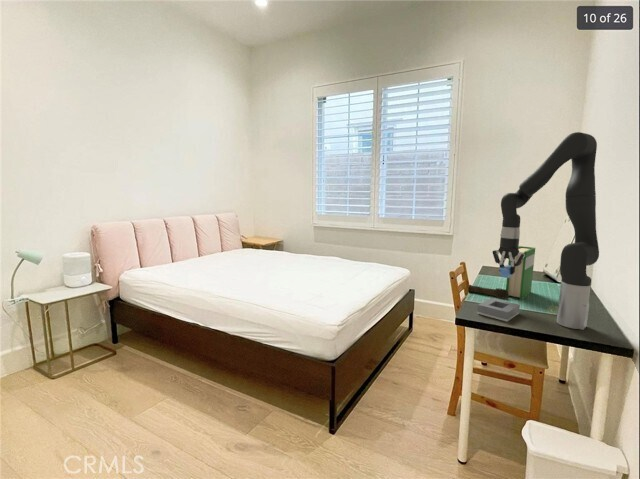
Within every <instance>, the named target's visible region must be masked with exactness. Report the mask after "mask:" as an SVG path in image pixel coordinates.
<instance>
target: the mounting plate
mask: <svg viewBox="0 0 640 479" xmlns="http://www.w3.org/2000/svg"><path fill="white" fill-rule="evenodd" d="M520 306H521V304H518V303H514V302H509V301H506V300H503V299H502V300H501V299H497V298H493V297H491V298H490V297H489V298H488V299H486V300H484V301H483V302H481V303H478V305H477V312H476V313H477V314H478V315H482V316H486V317H488V318H492V319H497V320H498V321H499V320H500V321H504V322H509V321H510V320H512V319H513V318H515V317H516V316H518V315H519V314H520V309H521V308H520Z"/></svg>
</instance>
